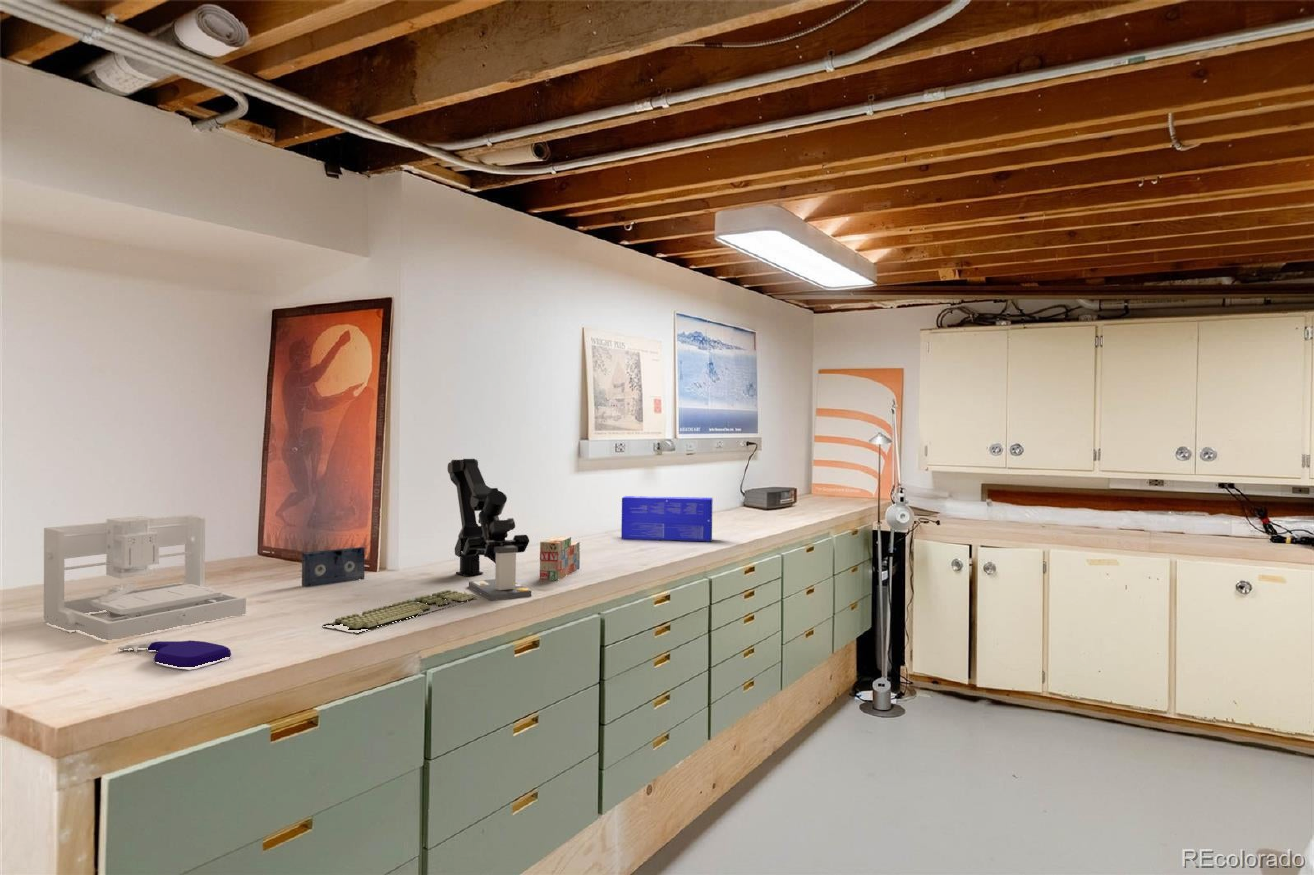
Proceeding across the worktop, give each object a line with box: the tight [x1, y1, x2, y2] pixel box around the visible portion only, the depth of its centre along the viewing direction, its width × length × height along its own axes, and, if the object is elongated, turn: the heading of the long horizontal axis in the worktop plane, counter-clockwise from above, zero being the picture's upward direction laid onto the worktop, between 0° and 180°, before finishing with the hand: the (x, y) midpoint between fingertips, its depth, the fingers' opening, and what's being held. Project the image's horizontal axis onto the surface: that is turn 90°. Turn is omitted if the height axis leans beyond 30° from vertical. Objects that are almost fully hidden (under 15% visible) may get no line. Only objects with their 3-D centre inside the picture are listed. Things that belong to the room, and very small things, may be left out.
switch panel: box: [468, 578, 532, 601], centre depth 228 cm, size 20×12×2 cm, turn 31°
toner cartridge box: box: [620, 495, 714, 542], centre depth 335 cm, size 39×8×18 cm, turn 84°
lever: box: [494, 545, 518, 590], centre depth 224 cm, size 4×6×12 cm, turn 121°
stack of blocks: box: [539, 535, 581, 581], centre depth 256 cm, size 21×6×12 cm, turn 167°
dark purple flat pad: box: [118, 637, 232, 667], centre depth 162 cm, size 3×11×24 cm
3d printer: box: [43, 514, 247, 640], centre depth 190 cm, size 35×32×25 cm
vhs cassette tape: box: [301, 546, 366, 588], centre depth 236 cm, size 18×3×10 cm, turn 134°
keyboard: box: [321, 589, 483, 635], centre depth 203 cm, size 45×15×2 cm, turn 153°
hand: (503, 568), depth 225 cm, fingers closed, pressing on lever
